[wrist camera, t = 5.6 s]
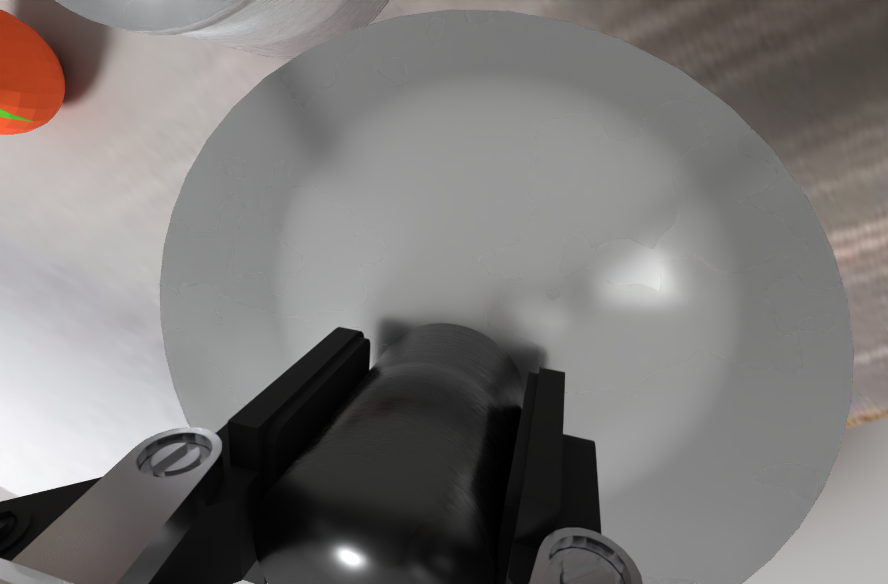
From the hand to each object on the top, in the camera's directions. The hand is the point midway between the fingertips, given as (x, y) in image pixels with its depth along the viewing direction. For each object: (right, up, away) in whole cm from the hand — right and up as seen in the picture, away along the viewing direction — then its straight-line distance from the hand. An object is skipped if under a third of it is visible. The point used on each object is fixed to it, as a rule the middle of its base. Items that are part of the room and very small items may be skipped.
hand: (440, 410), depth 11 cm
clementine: (-25, +16, +20) cm, 36 cm away
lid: (+1, +1, +2) cm, 2 cm away
